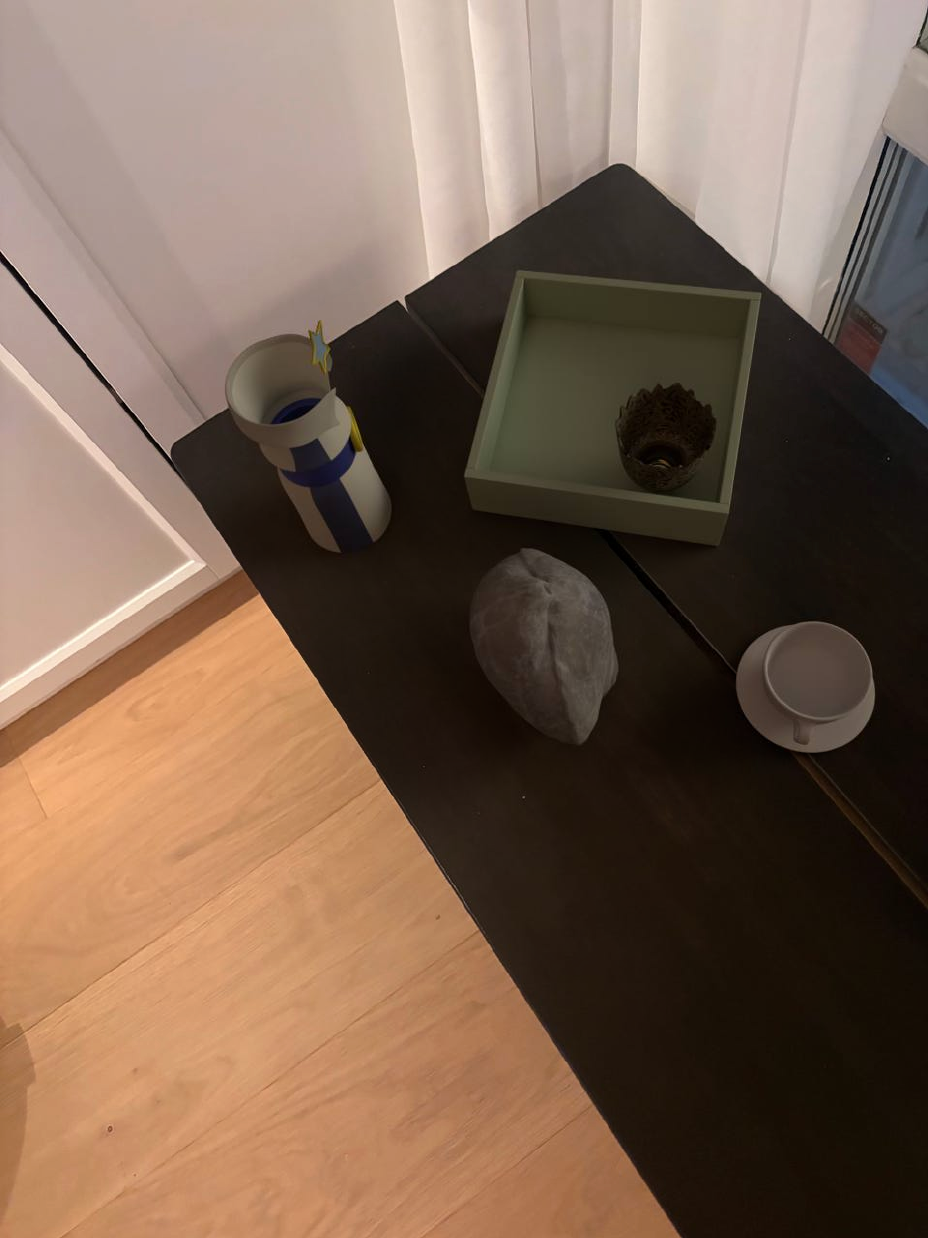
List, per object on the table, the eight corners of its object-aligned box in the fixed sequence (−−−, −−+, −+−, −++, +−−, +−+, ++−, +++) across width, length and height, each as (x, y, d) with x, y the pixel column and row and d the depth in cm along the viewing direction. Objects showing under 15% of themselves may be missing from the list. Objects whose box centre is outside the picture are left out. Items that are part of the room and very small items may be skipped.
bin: (718, 546, 74) (728, 513, 68) (472, 510, 78) (463, 476, 72) (749, 337, 80) (761, 292, 75) (521, 313, 84) (516, 269, 79)
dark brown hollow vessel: (723, 483, 75) (737, 430, 67) (651, 533, 74) (658, 485, 67) (665, 422, 77) (673, 365, 70) (595, 469, 77) (596, 417, 69)
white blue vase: (382, 455, 81) (300, 250, 58) (406, 537, 78) (329, 356, 54) (294, 483, 81) (176, 290, 58) (314, 566, 78) (198, 397, 55)
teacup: (746, 615, 71) (756, 592, 67) (880, 641, 69) (899, 620, 65) (725, 737, 68) (734, 721, 64) (864, 768, 66) (883, 754, 62)
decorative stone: (649, 734, 69) (664, 677, 55) (521, 780, 69) (503, 735, 55) (577, 565, 75) (575, 475, 61) (459, 608, 75) (429, 527, 61)
